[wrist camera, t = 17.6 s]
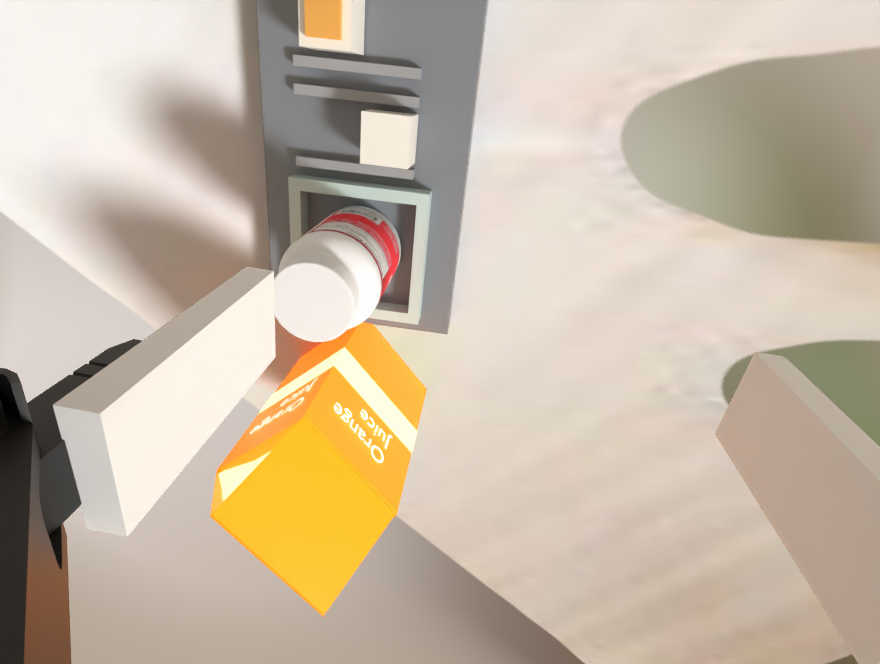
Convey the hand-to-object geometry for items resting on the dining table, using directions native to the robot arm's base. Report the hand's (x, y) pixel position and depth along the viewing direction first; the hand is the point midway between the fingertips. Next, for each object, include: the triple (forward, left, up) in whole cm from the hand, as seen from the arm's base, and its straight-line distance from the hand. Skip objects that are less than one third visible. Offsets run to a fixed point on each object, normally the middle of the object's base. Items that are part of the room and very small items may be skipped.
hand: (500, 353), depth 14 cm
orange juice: (+17, -9, -25) cm, 31 cm away
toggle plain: (-3, -7, -22) cm, 24 cm away
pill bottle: (+5, -9, -23) cm, 25 cm away
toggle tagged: (-9, -11, -22) cm, 26 cm away
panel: (-1, -9, -24) cm, 26 cm away
